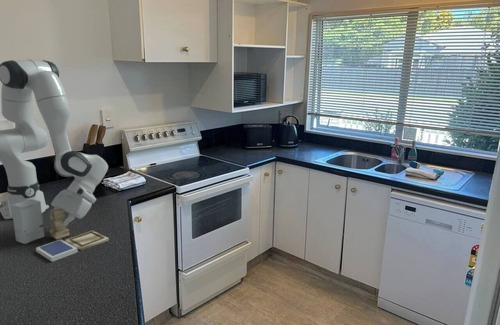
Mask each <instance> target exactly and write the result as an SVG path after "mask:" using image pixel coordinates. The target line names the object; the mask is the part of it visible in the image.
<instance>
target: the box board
mask: <svg viewBox="0 0 500 325" xmlns="http://www.w3.org/2000/svg"><path fill="white" fill-rule="evenodd" d="M109 240H110V238H109V237H107V236H104V235H103V234H100V233H99V232H96V231H95V230H89V231H86V232H83V233H80V234H78V235H75V236H72V237H71V236H70V237H69V238H68V237H67V238H66V239H65V240H64V241H65V242H67V243H69V244H70V245H72V246H74V247H76V248H77V250H80V251H85V250H88V249H89V248H92V247H95V246H97V245H101V244H103V243H106V242H108V241H109Z"/></svg>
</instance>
